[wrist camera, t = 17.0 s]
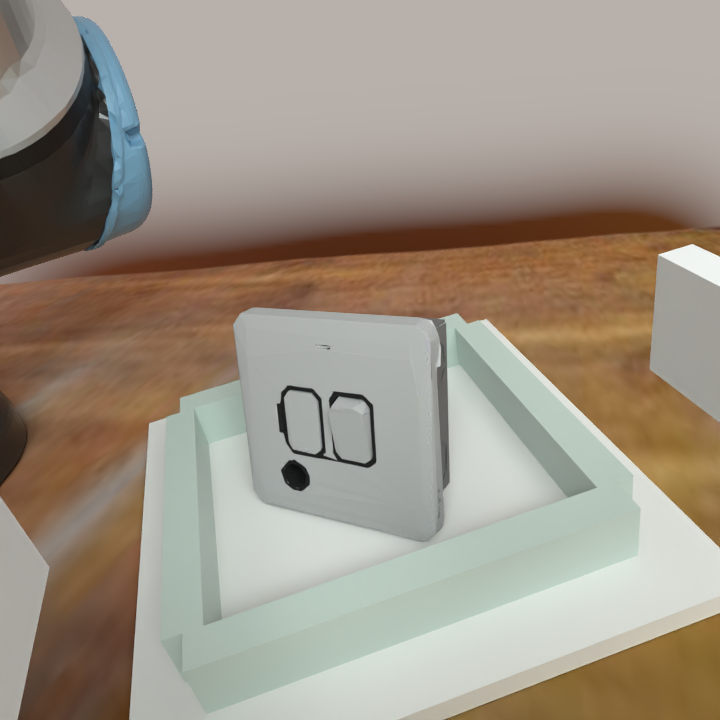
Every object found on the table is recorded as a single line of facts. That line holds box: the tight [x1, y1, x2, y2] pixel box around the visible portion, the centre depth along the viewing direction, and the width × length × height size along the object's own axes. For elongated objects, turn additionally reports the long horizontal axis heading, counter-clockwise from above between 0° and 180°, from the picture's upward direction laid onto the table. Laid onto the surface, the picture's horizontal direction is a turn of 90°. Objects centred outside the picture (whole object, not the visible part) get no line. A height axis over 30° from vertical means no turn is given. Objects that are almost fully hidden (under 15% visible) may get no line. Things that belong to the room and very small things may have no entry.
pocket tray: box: [129, 313, 720, 720], centre depth 29 cm, size 22×22×4 cm
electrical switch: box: [233, 308, 450, 542], centre depth 27 cm, size 9×5×9 cm, turn 63°
